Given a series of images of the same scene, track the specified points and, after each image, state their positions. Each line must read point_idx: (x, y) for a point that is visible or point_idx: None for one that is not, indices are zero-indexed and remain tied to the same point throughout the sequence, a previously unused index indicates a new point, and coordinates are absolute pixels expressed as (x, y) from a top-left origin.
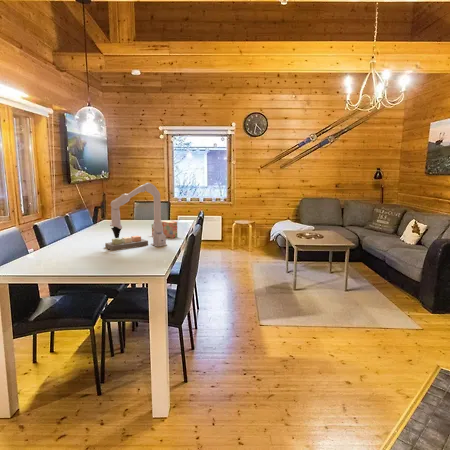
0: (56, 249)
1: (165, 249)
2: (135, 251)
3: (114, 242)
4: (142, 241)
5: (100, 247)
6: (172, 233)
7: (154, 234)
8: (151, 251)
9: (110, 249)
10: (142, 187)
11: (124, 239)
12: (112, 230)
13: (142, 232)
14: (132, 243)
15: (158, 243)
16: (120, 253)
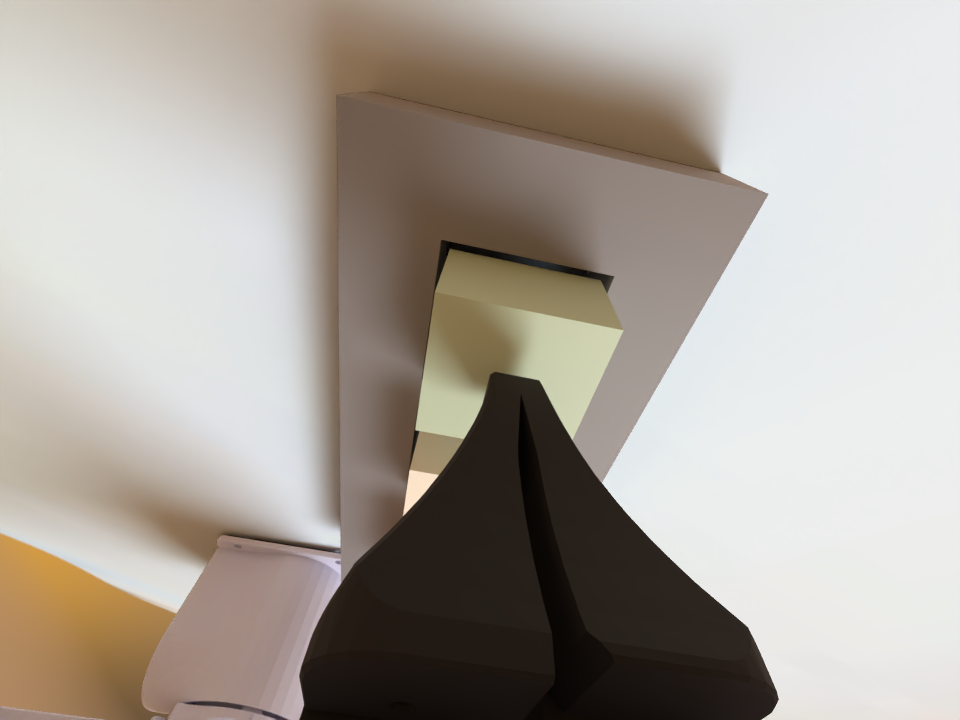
0: None
1: (73, 512)
2: (96, 308)
3: (472, 271)
4: (351, 550)
5: (834, 96)
6: None
7: (218, 683)
8: (21, 410)
9: (462, 113)
10: None
11: (428, 460)
12: (661, 551)
13: (815, 715)
14: (341, 455)
15: (203, 571)
16: (24, 48)
